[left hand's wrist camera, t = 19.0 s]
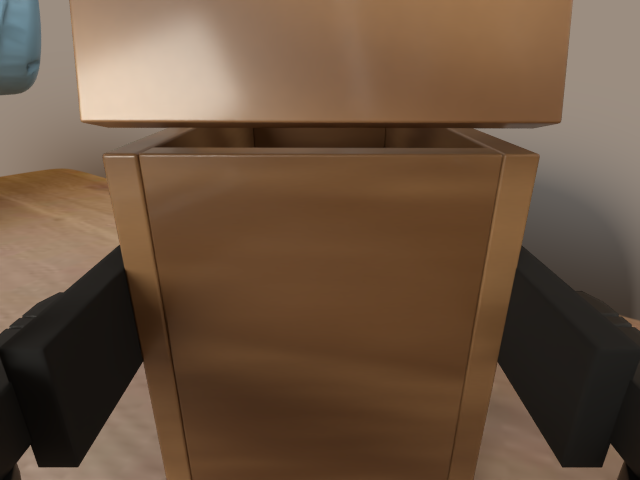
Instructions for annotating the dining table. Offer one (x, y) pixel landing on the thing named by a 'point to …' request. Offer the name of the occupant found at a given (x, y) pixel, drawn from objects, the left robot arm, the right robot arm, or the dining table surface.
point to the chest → (320, 295)
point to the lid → (321, 63)
